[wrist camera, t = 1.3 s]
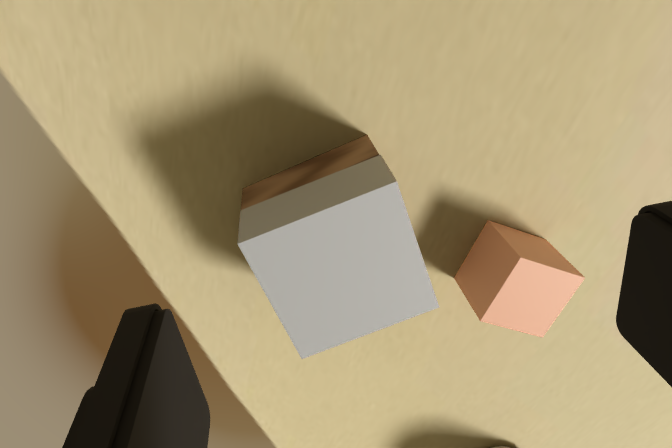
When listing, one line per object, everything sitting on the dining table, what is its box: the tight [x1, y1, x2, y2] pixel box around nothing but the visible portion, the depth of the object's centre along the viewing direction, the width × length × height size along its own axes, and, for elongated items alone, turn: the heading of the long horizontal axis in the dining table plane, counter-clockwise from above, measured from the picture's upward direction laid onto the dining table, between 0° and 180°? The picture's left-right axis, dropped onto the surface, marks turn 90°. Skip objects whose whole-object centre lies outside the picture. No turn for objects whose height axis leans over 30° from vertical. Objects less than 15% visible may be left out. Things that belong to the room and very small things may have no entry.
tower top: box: [237, 155, 439, 359], centre depth 33 cm, size 10×10×4 cm
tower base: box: [241, 135, 379, 210], centre depth 37 cm, size 10×10×4 cm
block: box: [454, 220, 585, 337], centre depth 40 cm, size 6×6×6 cm
